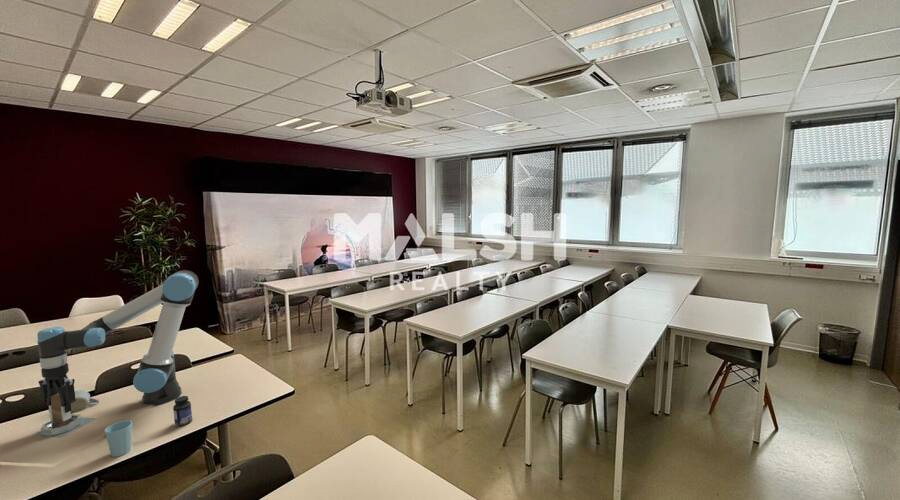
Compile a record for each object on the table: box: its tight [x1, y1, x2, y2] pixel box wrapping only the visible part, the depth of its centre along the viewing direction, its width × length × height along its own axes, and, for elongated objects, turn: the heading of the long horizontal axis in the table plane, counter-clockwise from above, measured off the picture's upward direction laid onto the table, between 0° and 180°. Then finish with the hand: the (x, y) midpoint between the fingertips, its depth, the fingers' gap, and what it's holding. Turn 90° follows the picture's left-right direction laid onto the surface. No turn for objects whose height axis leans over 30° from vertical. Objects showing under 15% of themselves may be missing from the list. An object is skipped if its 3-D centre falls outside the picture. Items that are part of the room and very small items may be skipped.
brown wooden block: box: [50, 393, 69, 424], centre depth 151 cm, size 2×4×12 cm, turn 86°
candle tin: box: [40, 413, 82, 436], centre depth 152 cm, size 11×11×3 cm
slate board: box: [32, 416, 98, 438], centre depth 153 cm, size 13×14×1 cm
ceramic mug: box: [71, 390, 100, 413], centre depth 169 cm, size 11×8×8 cm
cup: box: [104, 420, 133, 458], centre depth 137 cm, size 8×8×10 cm
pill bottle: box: [172, 395, 193, 427], centre depth 156 cm, size 6×6×11 cm
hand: (61, 419), depth 152 cm, fingers open, 5 cm apart
